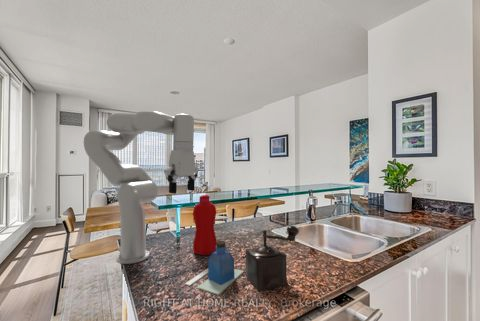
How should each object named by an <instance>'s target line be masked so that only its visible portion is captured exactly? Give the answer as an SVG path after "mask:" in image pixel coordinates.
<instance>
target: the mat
mask: <svg viewBox="0 0 480 321" xmlns="http://www.w3.org/2000/svg"><path fill="white" fill-rule="evenodd" d="M244 273H245V271H244V270H241V269H236V268H234V277H235V278H233V279H231V280H230V281H228V282H226V283H224V284H222V285H219V284H217V283H216V282H214V281H212V280H210V279H205V281H203V282H202V283H201V284H200V285H198V286H196V287H197V289H198V290H201V291H204V292H206V293H207V292H208V293H211V294H214V295H217V296H219V295H220V294H222V293H223V291H225V290H226V289H227V288H228V287H229V286H230V285H232V284H233V283H234V282H235V281H236V280H237V279H238V278H239V277H240V276H242V274H244Z"/></svg>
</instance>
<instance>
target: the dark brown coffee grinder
mask: <svg viewBox="0 0 480 321" xmlns="http://www.w3.org/2000/svg"><path fill="white" fill-rule="evenodd" d="M286 232H287V236H286V237H283V236H276V235H269V234H267V229H263V230H262V233H263V234H262V237H263V245H259V246H258V247H252V248H247V249H245V277H246V279H247V280H248V281H249V283H251V284H252V286H253V287H254V288H255V289H256V290H257V291H258V292H262V291H268V290H273V289H276V288H279V287H283V286H285V285H287V284H288V280H287V279H288V278H287V273H288V272H287V255H286V254H285V253H284V252H282V251H281V250H279V249H277V248H276V247H274V246H273V245H267V239H274V240H275V239H276V240H282V241H285V242H287V241H288V242H295V241H296V236H297V235H298V234H299V232H300V230H299V228H298V227H297V226H295V225H288V226H287V227H286Z"/></svg>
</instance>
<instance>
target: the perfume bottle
mask: <svg viewBox="0 0 480 321" xmlns="http://www.w3.org/2000/svg"><path fill="white" fill-rule="evenodd" d="M216 244H217V245H216V251H214V252H213V253H211V254H210V256H209V257H208V259H207V268H208V274H207V275H208V279H210V280H212V281H214V282H216V283H217V284H219V285H222V284H224V283H226V282H228V281H230V280H231V279H233V278H235V277H234V269H235V258H234V257H233V255H232V254H231V252H230V251H228V250H226V249H227V244H226V241H225V240H217V242H216Z"/></svg>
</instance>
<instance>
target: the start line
mask: <svg viewBox="0 0 480 321" xmlns="http://www.w3.org/2000/svg"><path fill="white" fill-rule="evenodd" d="M207 275H208V267H207V268H206V269H205V270H203V271H201V272H200V273H198V274H197V275H195V276H194V277H192V278H191V279H190V280H188V281H186V282H185V283H184V285H186V286H188V287H190V286H192V285H193V284H195V283H196V282H198V281H199V280H200V279H202V278H203V277H205V276H207Z"/></svg>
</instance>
